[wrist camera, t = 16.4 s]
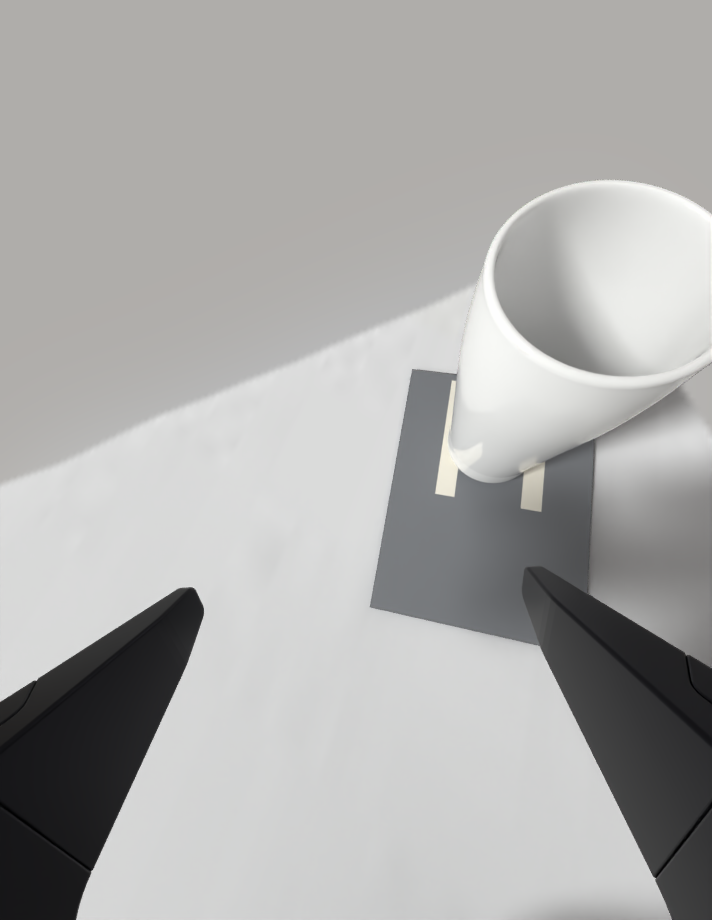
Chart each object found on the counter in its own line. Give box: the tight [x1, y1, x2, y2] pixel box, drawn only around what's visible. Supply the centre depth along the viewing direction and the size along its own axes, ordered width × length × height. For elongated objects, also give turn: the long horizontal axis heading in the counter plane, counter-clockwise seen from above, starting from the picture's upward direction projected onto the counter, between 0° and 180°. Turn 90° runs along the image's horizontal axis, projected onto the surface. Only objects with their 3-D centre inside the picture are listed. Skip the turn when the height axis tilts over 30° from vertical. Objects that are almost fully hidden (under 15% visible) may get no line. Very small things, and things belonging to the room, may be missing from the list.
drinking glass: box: [447, 180, 712, 483], centre depth 17 cm, size 7×7×15 cm
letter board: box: [370, 369, 594, 646], centre depth 24 cm, size 16×12×1 cm
